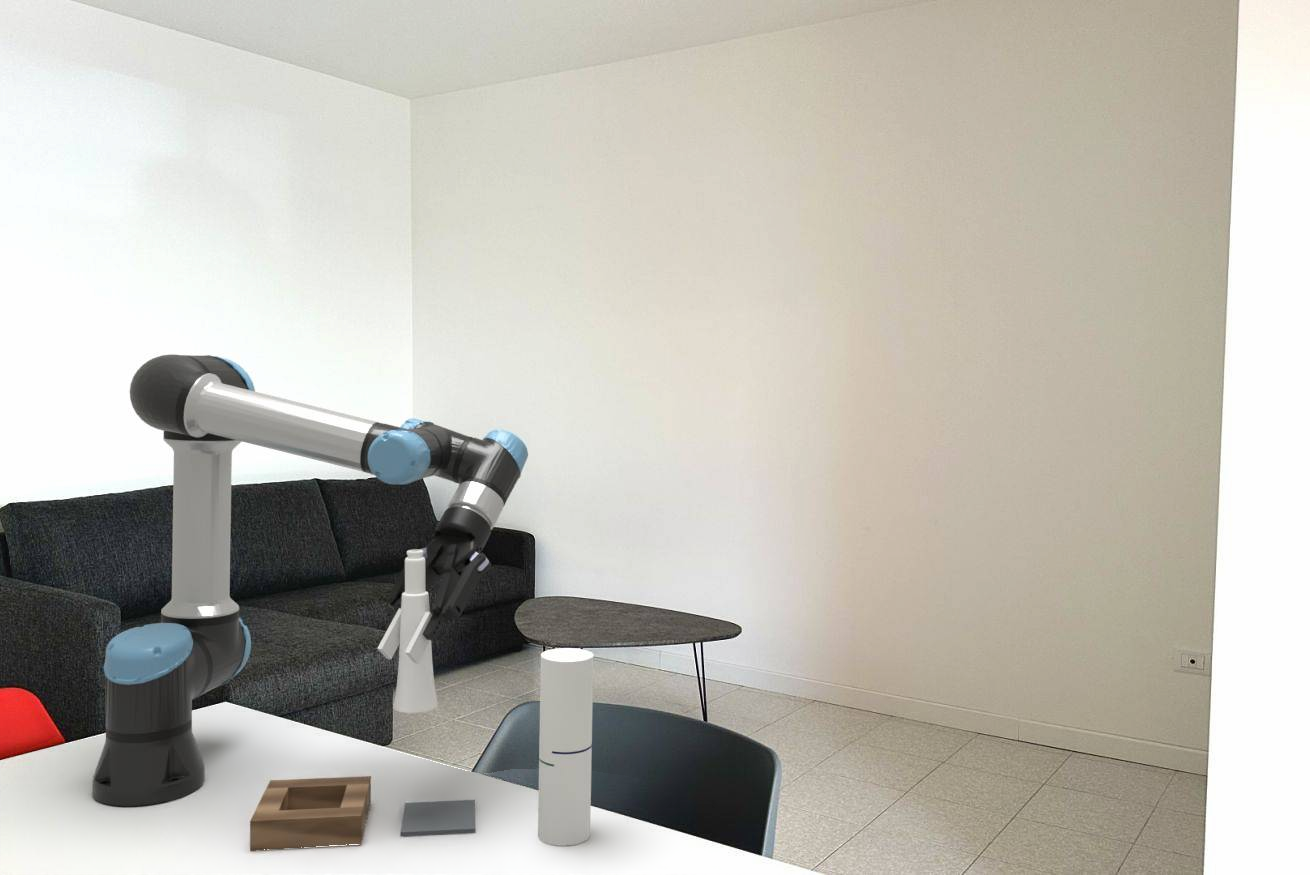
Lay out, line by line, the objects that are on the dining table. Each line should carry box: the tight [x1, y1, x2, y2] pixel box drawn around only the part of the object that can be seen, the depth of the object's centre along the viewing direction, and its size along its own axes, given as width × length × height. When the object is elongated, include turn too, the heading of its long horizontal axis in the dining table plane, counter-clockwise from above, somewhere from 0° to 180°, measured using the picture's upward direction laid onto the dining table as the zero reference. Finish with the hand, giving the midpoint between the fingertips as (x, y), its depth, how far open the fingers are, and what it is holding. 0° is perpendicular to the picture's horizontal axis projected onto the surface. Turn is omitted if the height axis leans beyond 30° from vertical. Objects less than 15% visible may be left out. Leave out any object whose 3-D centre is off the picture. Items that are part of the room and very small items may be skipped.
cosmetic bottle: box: [393, 549, 439, 715], centre depth 146 cm, size 6×6×22 cm
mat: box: [399, 799, 476, 837], centre depth 149 cm, size 10×10×1 cm
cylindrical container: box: [537, 647, 594, 847], centre depth 144 cm, size 7×7×25 cm
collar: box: [249, 775, 372, 852], centre depth 146 cm, size 14×14×4 cm
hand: (397, 655), depth 143 cm, fingers closed on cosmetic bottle, 4 cm apart
